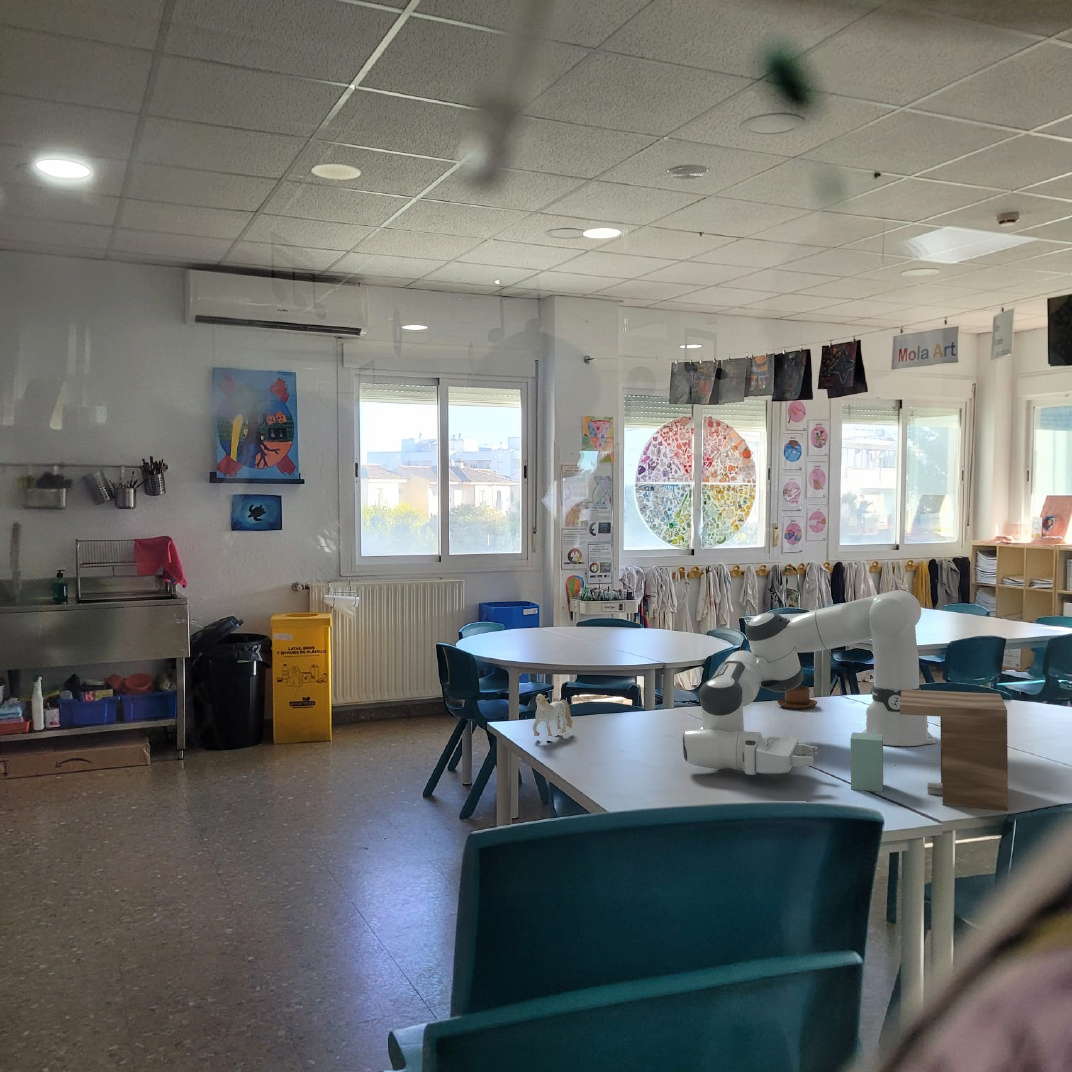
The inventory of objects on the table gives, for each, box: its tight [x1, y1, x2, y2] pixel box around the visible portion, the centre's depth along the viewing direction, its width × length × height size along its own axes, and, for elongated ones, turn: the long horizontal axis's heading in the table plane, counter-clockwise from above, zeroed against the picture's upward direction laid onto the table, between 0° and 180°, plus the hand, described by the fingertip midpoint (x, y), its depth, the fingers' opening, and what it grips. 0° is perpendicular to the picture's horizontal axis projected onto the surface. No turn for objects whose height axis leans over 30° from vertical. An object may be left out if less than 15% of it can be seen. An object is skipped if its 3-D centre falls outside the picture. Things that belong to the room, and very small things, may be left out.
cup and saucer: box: [777, 685, 818, 710], centre depth 306 cm, size 12×12×6 cm
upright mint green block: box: [849, 731, 884, 793], centre depth 215 cm, size 6×6×11 cm
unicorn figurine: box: [532, 693, 574, 737], centre depth 265 cm, size 7×20×13 cm, turn 159°
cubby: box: [900, 689, 1009, 811], centre depth 209 cm, size 19×20×20 cm
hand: (815, 756), depth 219 cm, fingers open, 8 cm apart
